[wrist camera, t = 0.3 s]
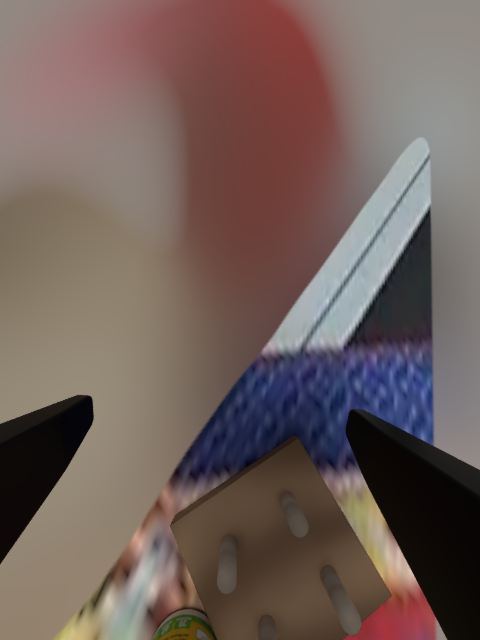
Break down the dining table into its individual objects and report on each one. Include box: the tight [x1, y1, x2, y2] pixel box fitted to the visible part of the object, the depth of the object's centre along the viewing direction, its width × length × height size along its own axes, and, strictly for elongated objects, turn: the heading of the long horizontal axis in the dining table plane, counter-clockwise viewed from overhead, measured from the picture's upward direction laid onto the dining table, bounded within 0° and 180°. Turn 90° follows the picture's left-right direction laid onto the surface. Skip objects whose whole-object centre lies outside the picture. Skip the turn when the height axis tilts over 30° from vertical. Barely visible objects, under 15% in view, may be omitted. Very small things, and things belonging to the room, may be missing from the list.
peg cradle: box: [170, 435, 392, 640], centre depth 16 cm, size 12×12×5 cm
